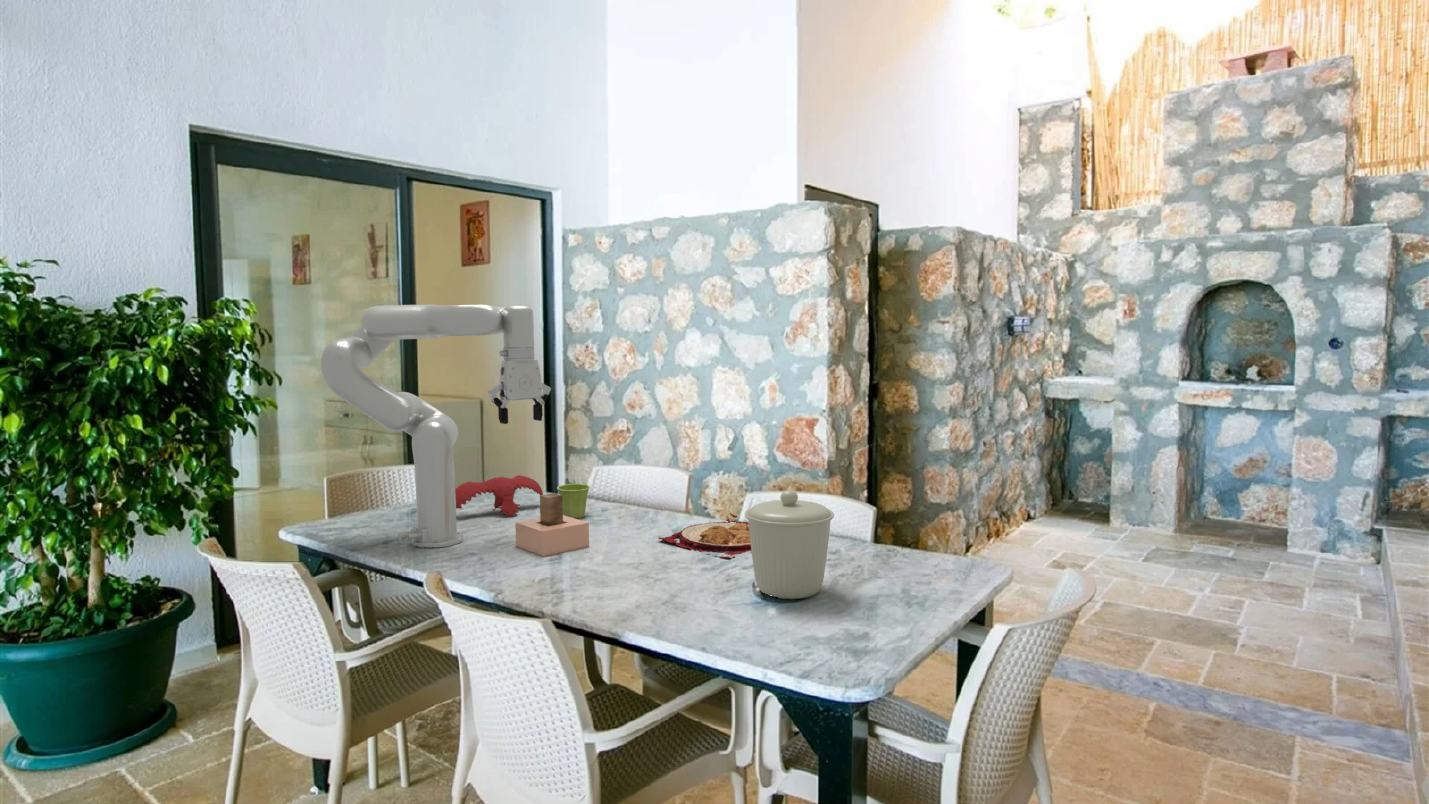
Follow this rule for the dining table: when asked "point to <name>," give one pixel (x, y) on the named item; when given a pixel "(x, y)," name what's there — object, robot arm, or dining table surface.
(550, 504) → the walnut peg
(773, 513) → the canister
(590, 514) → the dining table surface
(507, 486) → the decorative bird sculpture
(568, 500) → the plant pot
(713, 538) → the plate with food
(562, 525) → the pink planter box
